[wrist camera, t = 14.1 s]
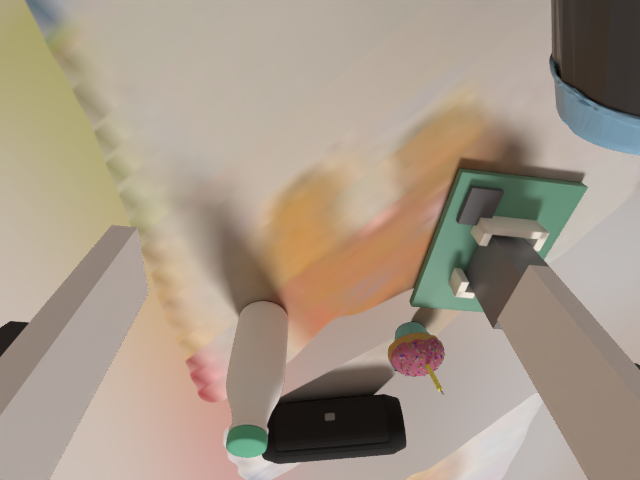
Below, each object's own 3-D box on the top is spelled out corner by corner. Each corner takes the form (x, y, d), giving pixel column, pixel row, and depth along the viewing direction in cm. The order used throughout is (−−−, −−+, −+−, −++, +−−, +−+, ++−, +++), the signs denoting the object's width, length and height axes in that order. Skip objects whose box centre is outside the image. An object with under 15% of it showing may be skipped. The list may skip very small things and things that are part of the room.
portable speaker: (396, 381, 68) (408, 435, 60) (396, 410, 73) (407, 463, 65) (262, 394, 69) (255, 448, 61) (272, 421, 75) (267, 475, 66)
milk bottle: (232, 304, 55) (199, 437, 39) (280, 295, 54) (268, 427, 38) (249, 337, 60) (226, 469, 43) (294, 329, 59) (288, 460, 42)
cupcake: (422, 306, 56) (446, 373, 47) (443, 336, 61) (470, 403, 51) (374, 328, 59) (387, 395, 49) (398, 355, 63) (414, 422, 53)
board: (459, 168, 43) (472, 183, 40) (581, 182, 45) (604, 198, 41) (409, 300, 56) (416, 321, 52) (507, 308, 57) (519, 329, 54)
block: (485, 227, 47) (523, 277, 39) (518, 230, 47) (562, 281, 39) (461, 279, 52) (489, 334, 44) (490, 282, 52) (524, 336, 44)
